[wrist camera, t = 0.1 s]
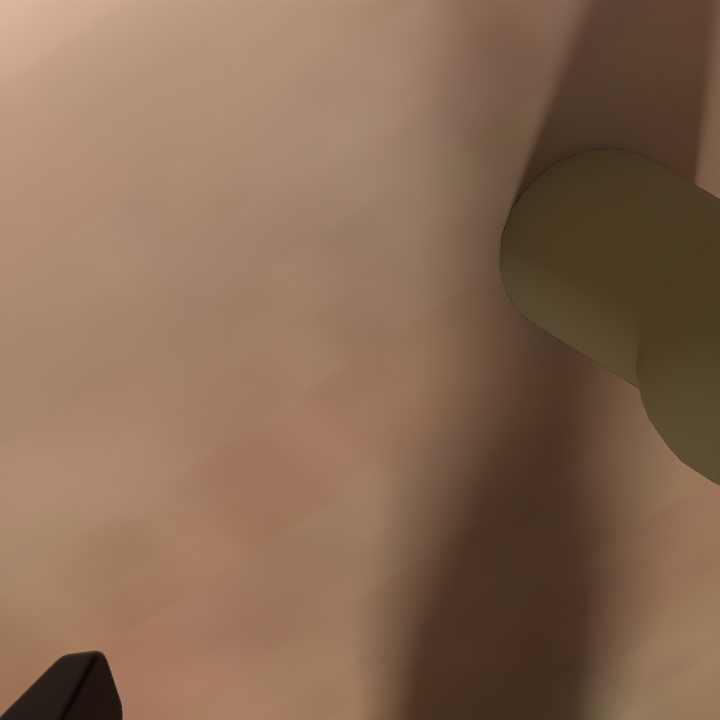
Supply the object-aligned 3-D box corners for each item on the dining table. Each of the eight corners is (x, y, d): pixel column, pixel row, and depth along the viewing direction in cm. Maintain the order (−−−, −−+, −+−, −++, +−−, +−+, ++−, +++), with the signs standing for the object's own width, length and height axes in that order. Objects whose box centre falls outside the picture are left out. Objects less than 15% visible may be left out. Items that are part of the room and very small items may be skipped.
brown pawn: (652, 108, 19) (1024, 139, 9) (713, 282, 22) (1065, 460, 11) (467, 212, 20) (621, 344, 10) (543, 369, 22) (732, 606, 12)
